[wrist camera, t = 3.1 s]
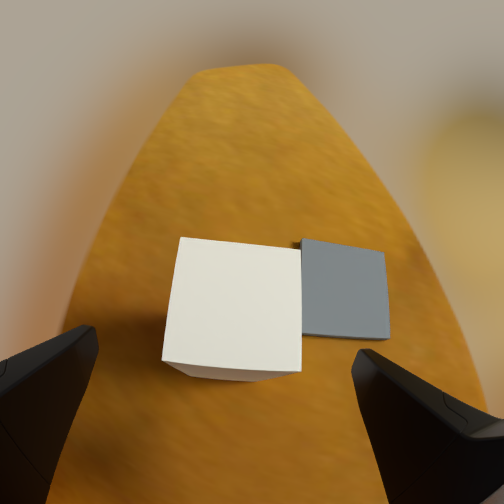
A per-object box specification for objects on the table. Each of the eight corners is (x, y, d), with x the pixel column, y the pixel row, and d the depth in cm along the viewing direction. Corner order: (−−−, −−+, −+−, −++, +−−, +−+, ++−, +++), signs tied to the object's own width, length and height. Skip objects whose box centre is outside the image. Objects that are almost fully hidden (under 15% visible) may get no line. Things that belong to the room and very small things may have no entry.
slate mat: (385, 340, 19) (390, 338, 18) (296, 334, 18) (298, 332, 18) (380, 255, 22) (383, 252, 22) (300, 242, 22) (302, 238, 21)
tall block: (254, 381, 17) (301, 371, 8) (190, 376, 16) (162, 360, 7) (257, 321, 18) (300, 249, 10) (196, 315, 18) (180, 237, 9)
